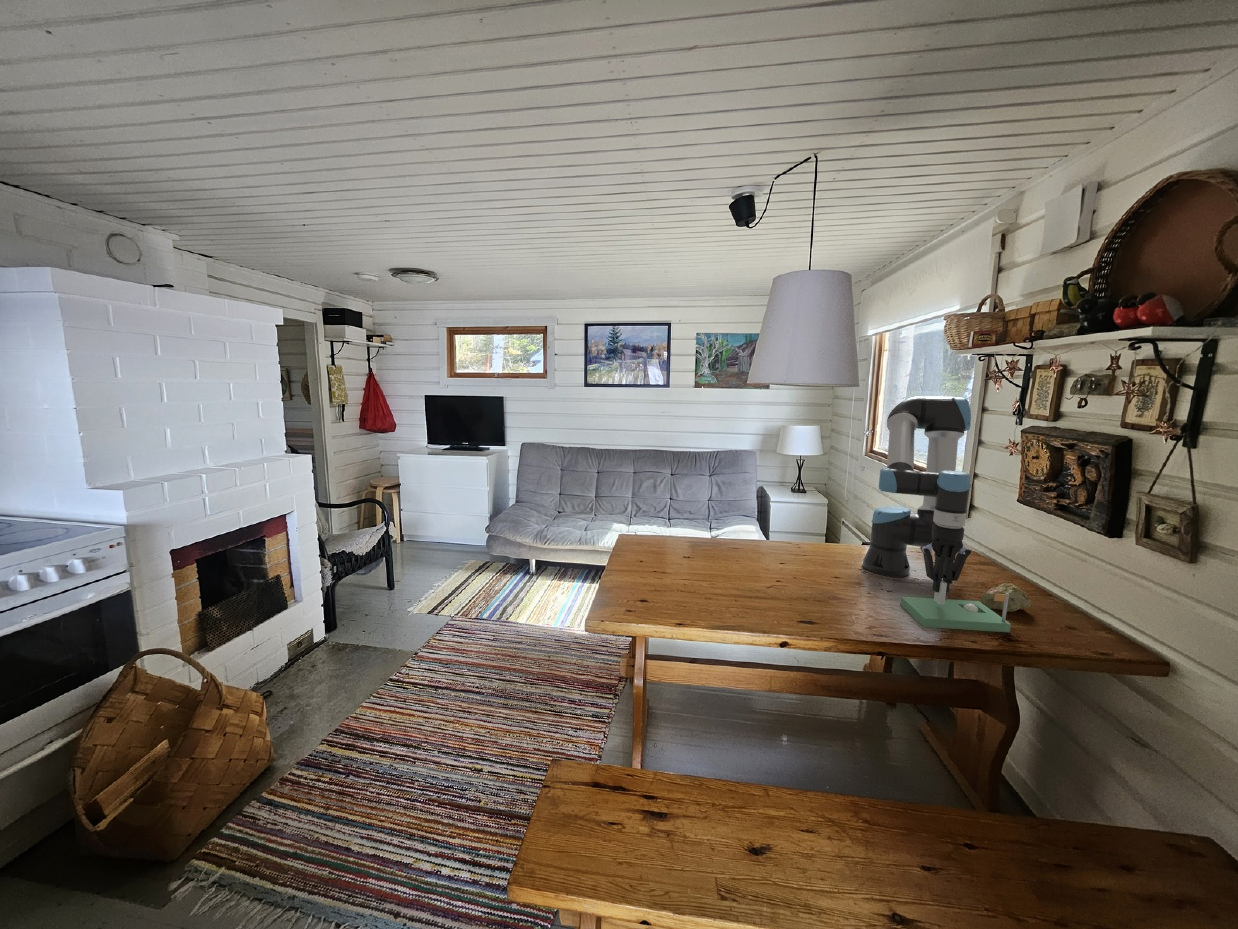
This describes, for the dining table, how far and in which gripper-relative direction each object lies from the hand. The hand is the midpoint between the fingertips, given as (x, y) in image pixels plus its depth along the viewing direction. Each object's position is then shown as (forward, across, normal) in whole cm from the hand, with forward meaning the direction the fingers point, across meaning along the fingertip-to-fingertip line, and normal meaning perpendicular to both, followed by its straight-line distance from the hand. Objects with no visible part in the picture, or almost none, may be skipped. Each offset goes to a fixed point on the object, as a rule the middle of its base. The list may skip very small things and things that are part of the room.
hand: (939, 602), depth 136 cm
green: (+4, +3, -2) cm, 5 cm away
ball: (+2, +9, 0) cm, 9 cm away
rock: (+4, +22, +8) cm, 24 cm away
